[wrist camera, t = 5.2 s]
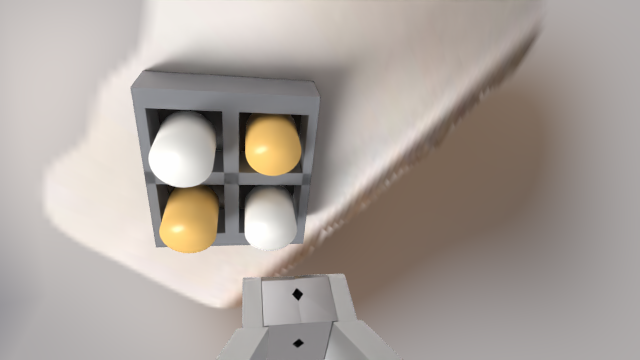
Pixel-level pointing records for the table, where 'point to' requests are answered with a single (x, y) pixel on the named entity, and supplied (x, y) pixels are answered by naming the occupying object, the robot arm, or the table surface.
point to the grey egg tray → (227, 138)
